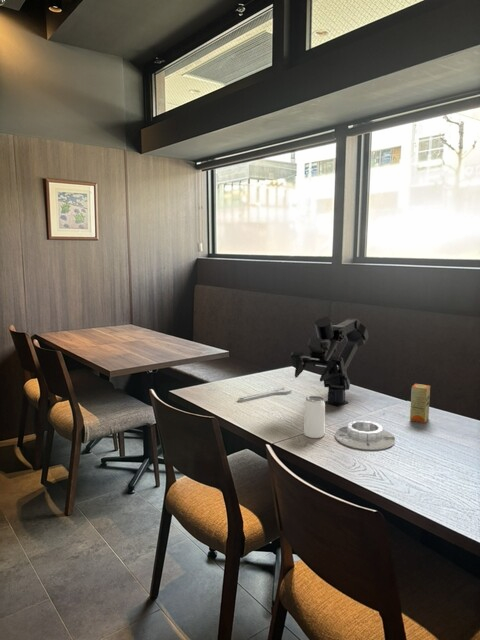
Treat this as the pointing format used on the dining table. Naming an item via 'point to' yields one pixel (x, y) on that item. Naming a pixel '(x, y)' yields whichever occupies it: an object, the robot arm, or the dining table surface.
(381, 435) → the rosette
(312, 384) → the dining table surface
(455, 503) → the dining table surface
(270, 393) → the adjustable wrench
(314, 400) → the can
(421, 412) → the shoe polish box
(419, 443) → the dining table surface
